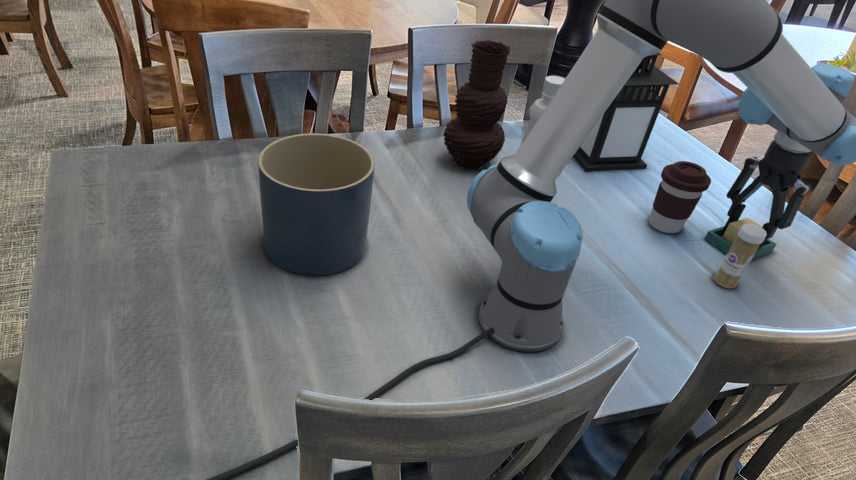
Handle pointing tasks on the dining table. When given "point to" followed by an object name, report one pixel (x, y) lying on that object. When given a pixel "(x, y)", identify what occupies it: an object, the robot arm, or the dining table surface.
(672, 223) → the coffee cup
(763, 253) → the green tray
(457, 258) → the dining table surface
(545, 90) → the bottle
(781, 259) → the dining table surface
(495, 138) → the vase
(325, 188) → the planter
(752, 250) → the sprinkles bottle
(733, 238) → the tan block
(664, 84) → the lantern
